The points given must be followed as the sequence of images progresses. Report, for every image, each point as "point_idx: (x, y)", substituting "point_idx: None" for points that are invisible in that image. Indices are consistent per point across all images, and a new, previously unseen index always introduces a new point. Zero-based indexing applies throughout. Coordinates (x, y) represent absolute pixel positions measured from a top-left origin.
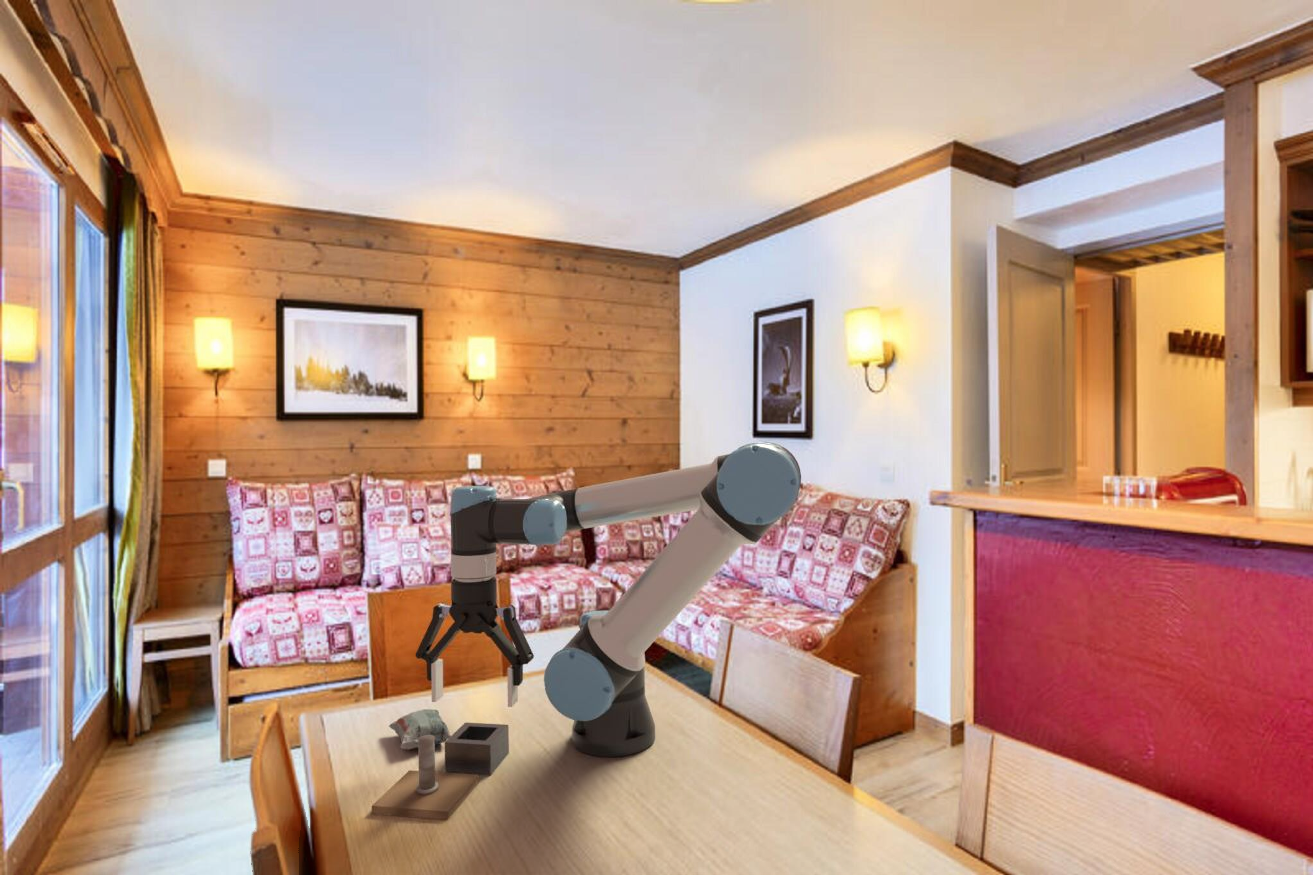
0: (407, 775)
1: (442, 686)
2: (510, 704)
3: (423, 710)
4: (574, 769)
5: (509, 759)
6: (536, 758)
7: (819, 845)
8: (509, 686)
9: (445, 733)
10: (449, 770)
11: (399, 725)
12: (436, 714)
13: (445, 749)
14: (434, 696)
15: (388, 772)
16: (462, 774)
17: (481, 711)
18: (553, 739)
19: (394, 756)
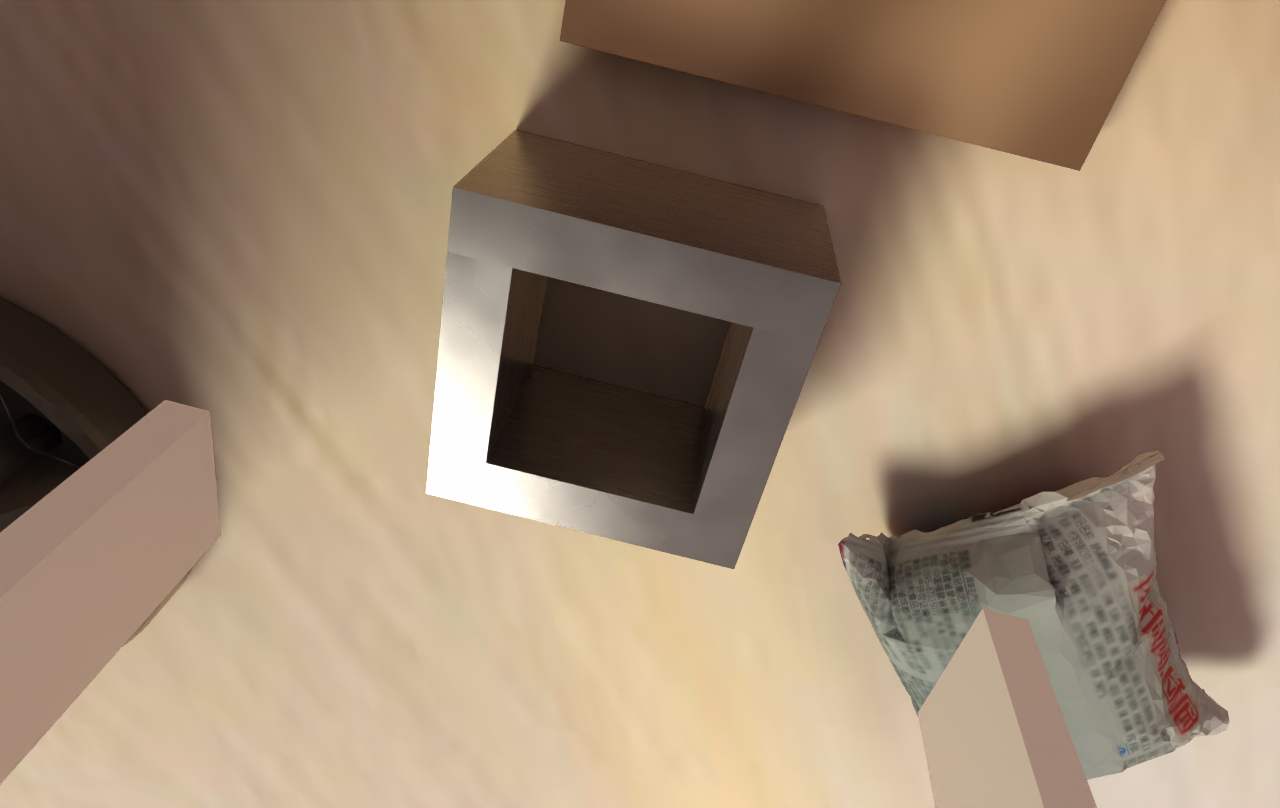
0: (1091, 86)
1: (940, 798)
2: (168, 418)
3: None
4: (37, 150)
5: None
6: (307, 312)
7: None
8: (25, 543)
9: (871, 563)
10: (794, 202)
11: (1182, 675)
12: None
13: (829, 260)
14: (1011, 658)
15: (1212, 250)
16: (678, 62)
17: (730, 805)
18: (292, 503)
19: (1170, 449)
